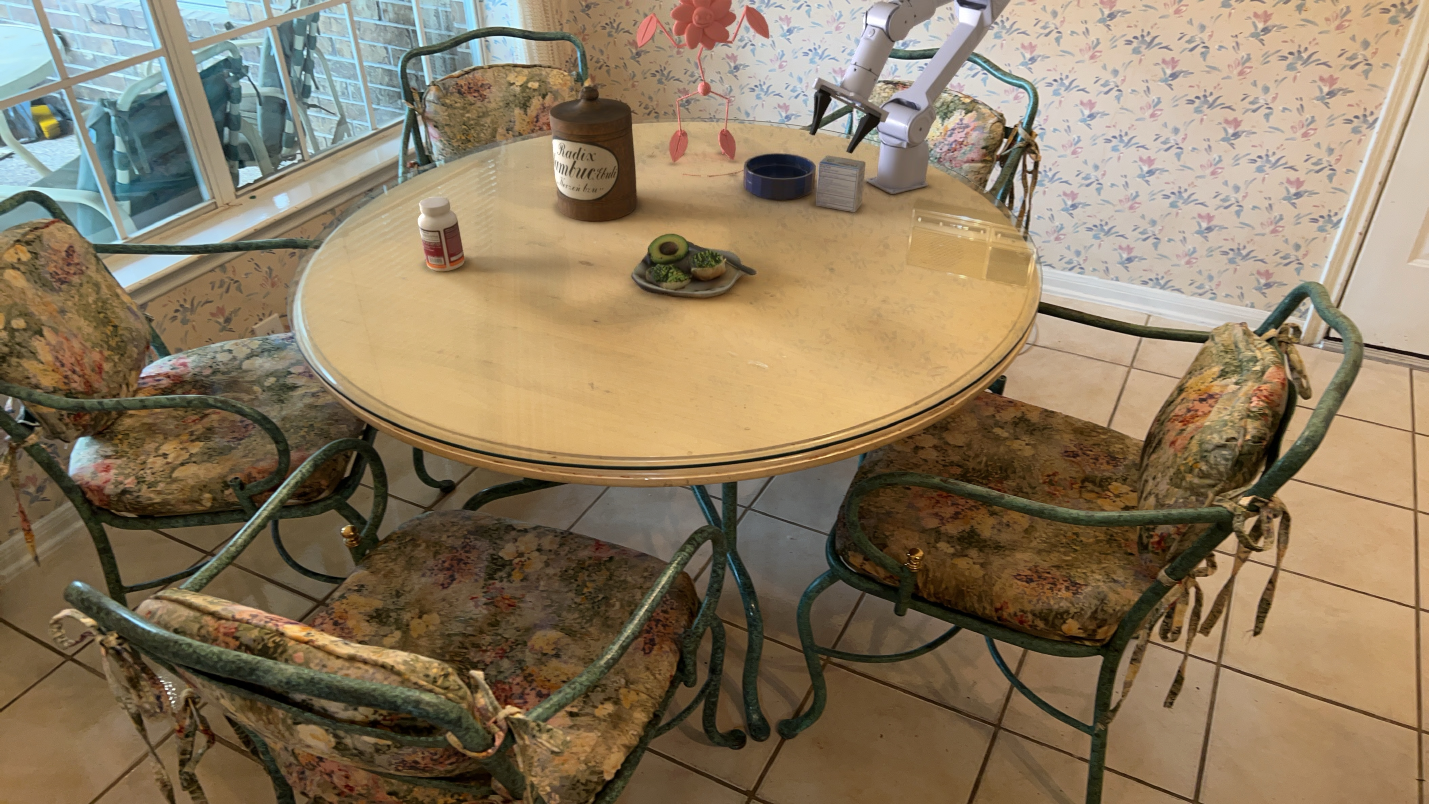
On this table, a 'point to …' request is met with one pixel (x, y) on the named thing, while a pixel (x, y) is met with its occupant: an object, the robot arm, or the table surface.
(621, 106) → the wooden container
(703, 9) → the figurine
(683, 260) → the salad plate
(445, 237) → the pill bottle
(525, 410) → the table surface
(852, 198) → the medicine box
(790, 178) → the bowl
